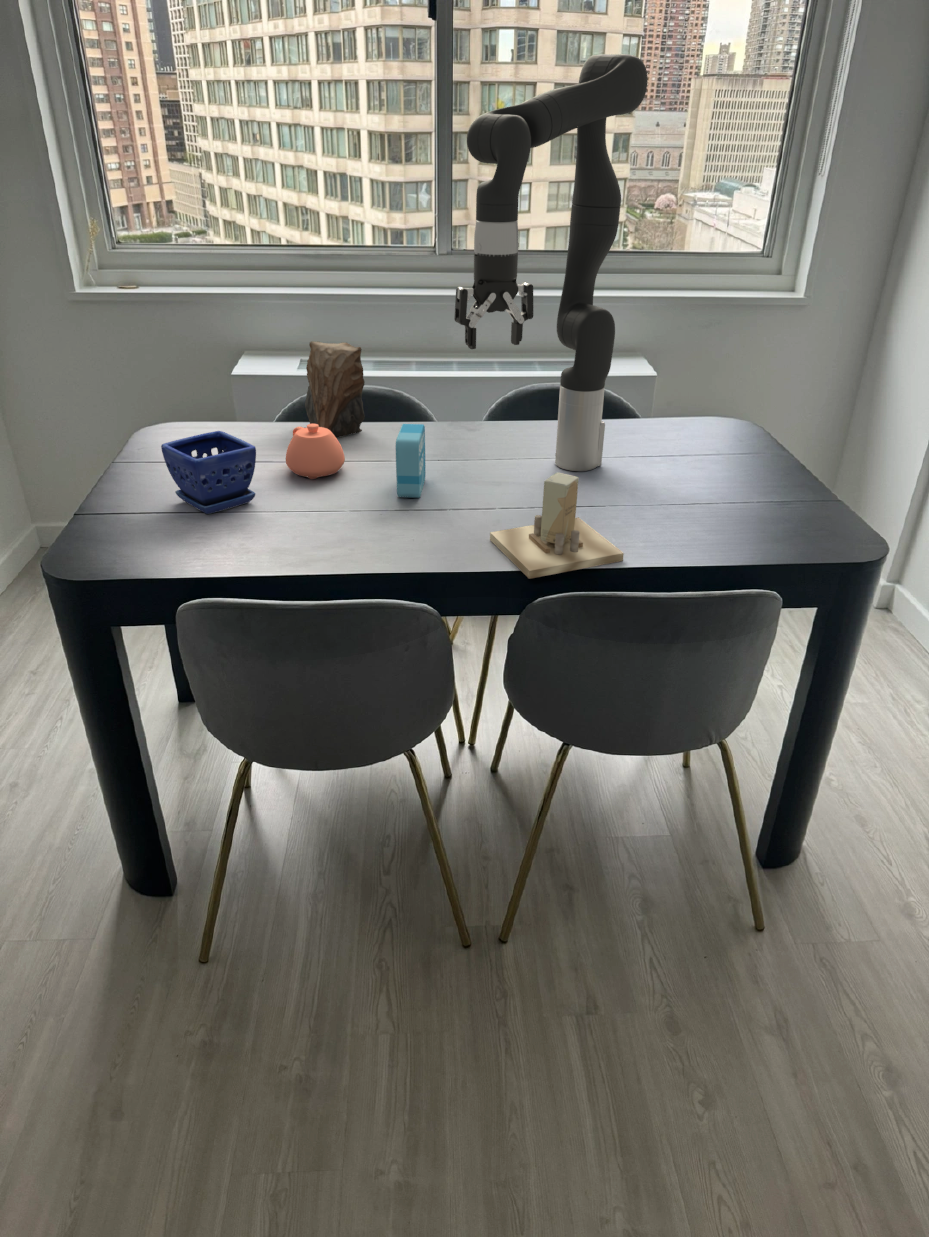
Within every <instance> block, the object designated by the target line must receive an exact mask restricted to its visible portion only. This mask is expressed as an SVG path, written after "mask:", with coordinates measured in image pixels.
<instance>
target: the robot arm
mask: <svg viewBox="0 0 929 1237" xmlns="http://www.w3.org/2000/svg"><path fill="white" fill-rule="evenodd" d="M647 71H648V70H647V68H646V65H645V64H644V62H643V60H642V59H641V58H640V57H638V56H636V55H635V54H634V55H633V54H627V53H615V54H613V53H611V54H610V53H609V54H606V53H605V54H601V53H600V54H593V55H590V56H589V57H588V58H587V59H586V60H585V62H584V63H583V65H582V67H581V70H580V75H579V79H578V83H576V84H573V85H568V86H567V85H566V86H564V87H558V88H555V89H550V90H547V91H544V92H542V93H540V94H538V95H535V96H533V97H531V98H529V99H527V100H525V101H523V102H521V103H518V104H514V105H509V106H506V107H501V108H497V109H492V110H490V111H487V112H485V113H481V115H479V116H477V117H476V118H475V119H474V120H473V121H472V122H471V124H470V126H469V128H468V131H467V135H466V146H467V149H468V152H469V154H470V155H471V157H472V158H474V159H475V160H476V161H478V162H479V163H483V164H490V165H491V164H492V165H496V168H495V171H494V174H493V177H492V179H488V180H485V181H482V182H480V183H479V184H478V186H477V189H476V195H475V196H476V199H475V200H476V201H475V202H476V203H475V204H476V205H475V206H476V209H475V228H474V235H473V236H474V238H473V239H474V240H473V284H472V287H463V286H457V287H456V288H455V299H454V300H455V301H454V302H455V306H454V322H456V323H458V324H460V326H464V343H465V345H466V346H467V347H468V349H470V350H476V349H477V327H476V326H477V324H478V322H479V320H480V319H481V318H483V316H484V315H485V314H486V312H487V313H495V312H500V313H501V312H502V313H503V312H505V311H506V313H507V314H508V315H509V316H510V318H511V319H512V321H511V328H510V329H511V330H510V332H511V333H510V335H511V336H510V344H512V345H514V346H519V345H520V342H522V340H523V330H524V328H523V327H524V326H523V325H524V323H525V322H526V321H528V320H532V319H533V318H534V285H533V284H531V283H529V282H527V281H522V283H521V284H518V283H517V277H518V264H519V262H518V261H519V260H518V259H519V247H520V245H519V244H520V243H519V225H518V223H519V222H518V219H519V196H520V195H519V194H520V191H521V188H522V184H523V181H524V178H525V177H524V176H525V172H526V168H527V165H528V162H529V158H530V155H531V154H530V153H531V149H534V148H537V147H538V148H539V147H541V146H543V145H544V144H547V143H548V142H551V141H552V140H554V139H557V138H558V137H561V136H562V135H564V134H567V133H569V132H571V131H573V130H575V129H576V153H575V154H576V156H575V170H574V181H573V183H574V184H573V191H572V192H573V193H572V199H571V209H570V220H569V221H570V222H569V235H568V236H569V237H568V238H569V239H568V248H567V254H566V255H567V257H566V265H565V272H564V278H563V286H562V290H561V291H562V292H561V297H560V301H559V306H558V312H557V318H556V334H557V338H558V341H559V342H560V343H561V344H562V345H563V346H564V347H566V348H568V349H570V350H574V351H575V354H574V361H573V365H572V366H570V367H565V369H563V370H562V371H561V373H560V382H559V396H558V397H559V400H558V410H557V411H558V414H557V429H556V445H555V455H554V456H555V458H554V459H555V460H554V464H555V466H557V467H558V468H560V469H563V470H567V471H571V472H572V471H573V472H586V471H592V470H594V469H596V468H597V467H601V466H602V461H603V451H604V442H605V441H604V440H605V430H606V423H605V422H604V421H602V420H603V410H604V398H605V397H604V396H605V389H606V388H605V385H606V380H607V378H608V376H609V373H610V371H611V366H612V358H613V352H614V346H615V338H616V337H615V336H616V322H615V319H614V316H613V315H612V313H611V312H610V311H608V310H607V309H605V308H603V307H599V306H596V305H594V294H595V286H596V279H597V276H598V273H599V270H600V268H601V266H602V264H604V261H605V259H606V257H607V256H608V254H609V252H610V251H611V248H612V246H613V244H614V243H615V240H616V237H617V233H618V229H619V224H620V214H621V205H622V192H621V189H620V184H619V182H618V181H619V180H618V178H617V176H616V173H615V170H614V167H613V165H612V162H611V158H610V156H609V152H608V149H607V140H606V132H607V131H606V130H607V129H606V128H607V118H610V117H614V116H621V115H627V114H630V113H632V112H635V110H637V109H638V107H640V105H641V104H642V103H643V101H644V98H645V96H646V93H647V91H648V90H647V89H648V81H649V80H648V72H647ZM518 294H519V296H520V298H521V299H520V300H521V305H520V306H521V312H520V309H519V307H518V305H517V304H516V302H515V301H514V300H515V298H516V297H517V295H518ZM471 297H473V298H474V300H475V301H474V302H473V303H472V305H471V306H470V309H469V311H468V310H467V309H468V301H470V298H471ZM467 311H468V313H467Z"/></svg>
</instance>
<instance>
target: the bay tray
mask: <svg viewBox="0 0 929 1237" xmlns="http://www.w3.org/2000/svg"><path fill="white" fill-rule="evenodd" d="M533 522H534V524H533V525H532V524H531V525H525V526H519V527H514V528H509V529H501V530H496V531H490V532H489V540H490V542H491V543H492V544H494V545H495V547H496V548H497V549H498V550H500V552H501V553H503V554H504V556H506V558H507V559H508V560H509V561H511V562H512V564H514V566H515V567H516V568H518V569H519V571H520V572H522V573H523V575H525V577H527V579H530V580H531V579H535V578H541V577H545V576H551V575H556V574H557V575H558V574H561V573H562V574H563V573H567V572H572V571H577V570H582V569H587V568H593V567H597V566H603V565H608V564H615V563H619V562H623V560H624V556H625V555H624V554H625V553H624V552H623V551H622V550H621V549H620V548H618V547H617V546H615V545H614V544H613V543H612V542H610V541H609V540H608V539H607V538H605V537H604V536H603V535H601V533H599V532H597V530H596V529H594V528H593V527H591V526H590V525H589V524H588V523H586V522H585V521H584V520H582V518H580V517H575V526H574V530H573V531H571V538H570V539H569V540H568V541H566V542H565V543H564V544H563V542H564V534H562V533H557V534H556V538H555V543H551V542H547V541H543V540H540V537H541V522H542V514H537V515H536V514H535V515H534V521H533Z"/></svg>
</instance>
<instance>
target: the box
mask: <svg viewBox="0 0 929 1237" xmlns="http://www.w3.org/2000/svg"><path fill="white" fill-rule="evenodd" d="M579 479H580V478H579V477H578V476H575V475H571V474H566V473H562V472H556V473H554V474H552V475H551V476H549V477H547V478H546V479H544V480H543V496H542V510H541V516H542V522H541V537H540V540H543V541H547V542H551V543H555V538H556V534H557V533H562V534H564V542H563V544H564V543H565V542H566V541H568V540H569V539H570V538H571V531H573V530H574V526H575V518H576V512H577V502H578V501H577V500H578V492H579V491H578V488H579Z"/></svg>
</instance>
